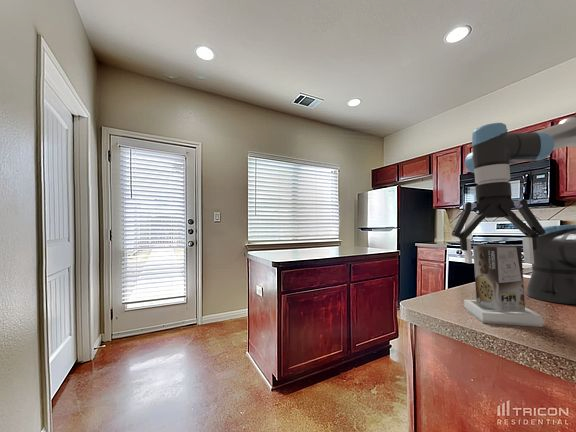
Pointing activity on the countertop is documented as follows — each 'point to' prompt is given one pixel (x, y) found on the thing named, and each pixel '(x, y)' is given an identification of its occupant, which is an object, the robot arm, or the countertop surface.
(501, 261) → the printed cardboard box
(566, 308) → the countertop surface
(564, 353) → the countertop surface
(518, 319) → the shallow grey tray
